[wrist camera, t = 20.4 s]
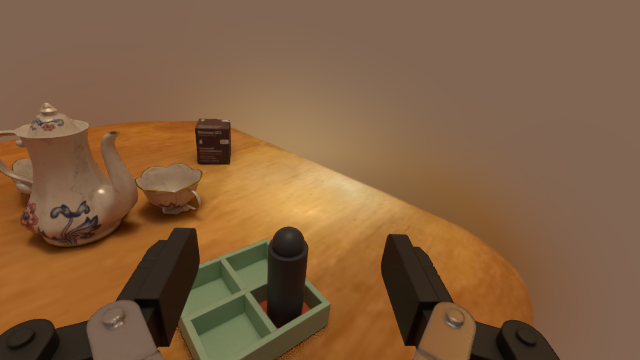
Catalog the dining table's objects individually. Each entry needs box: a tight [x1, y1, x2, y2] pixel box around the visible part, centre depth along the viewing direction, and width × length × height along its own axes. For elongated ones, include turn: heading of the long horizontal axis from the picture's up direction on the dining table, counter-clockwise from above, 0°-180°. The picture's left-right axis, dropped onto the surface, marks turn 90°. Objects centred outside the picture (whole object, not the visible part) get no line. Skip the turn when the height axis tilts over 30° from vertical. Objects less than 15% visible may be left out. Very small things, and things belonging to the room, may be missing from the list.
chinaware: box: [0, 103, 203, 247], centre depth 40 cm, size 28×17×17 cm, turn 91°
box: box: [195, 119, 231, 164], centre depth 61 cm, size 6×6×7 cm
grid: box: [178, 238, 331, 360], centre depth 31 cm, size 12×12×3 cm
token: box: [267, 227, 308, 328], centre depth 28 cm, size 4×4×10 cm
